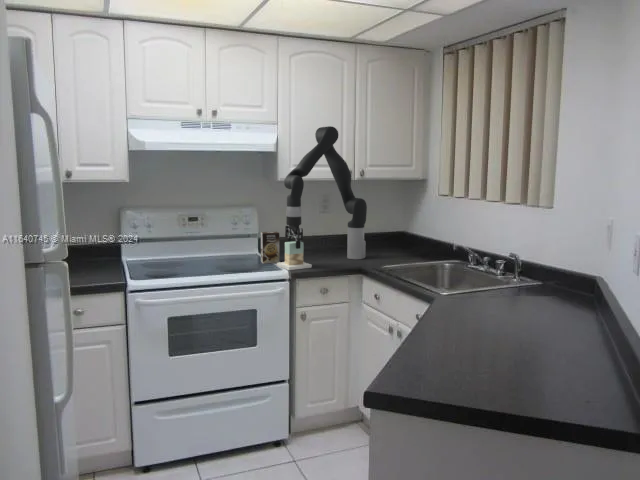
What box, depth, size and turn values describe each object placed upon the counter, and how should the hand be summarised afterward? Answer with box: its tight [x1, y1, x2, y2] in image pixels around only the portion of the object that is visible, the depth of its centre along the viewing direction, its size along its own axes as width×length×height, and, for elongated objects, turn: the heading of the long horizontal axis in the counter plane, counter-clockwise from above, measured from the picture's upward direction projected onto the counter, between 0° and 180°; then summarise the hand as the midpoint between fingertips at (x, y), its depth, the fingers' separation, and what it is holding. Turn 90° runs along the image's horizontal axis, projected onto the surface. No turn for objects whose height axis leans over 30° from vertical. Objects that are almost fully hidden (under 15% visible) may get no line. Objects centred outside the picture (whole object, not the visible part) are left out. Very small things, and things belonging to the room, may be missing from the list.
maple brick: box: [284, 252, 304, 265], centre depth 268 cm, size 8×5×6 cm, turn 122°
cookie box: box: [260, 231, 280, 265], centre depth 278 cm, size 9×6×16 cm
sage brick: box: [284, 240, 304, 254], centre depth 268 cm, size 8×5×6 cm, turn 122°
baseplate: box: [276, 261, 313, 271], centre depth 269 cm, size 13×13×2 cm
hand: (293, 247), depth 268 cm, fingers open, 8 cm apart
